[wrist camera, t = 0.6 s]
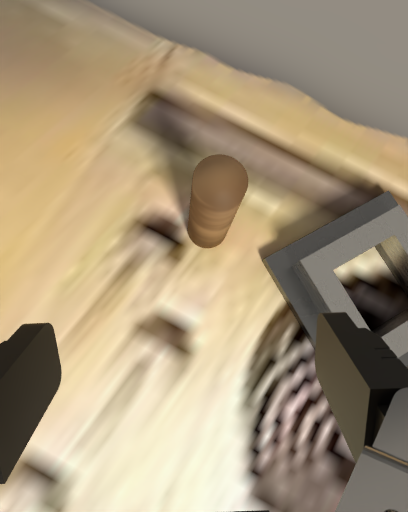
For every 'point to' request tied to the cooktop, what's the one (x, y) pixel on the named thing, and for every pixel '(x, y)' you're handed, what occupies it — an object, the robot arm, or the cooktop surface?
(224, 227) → the dowel pin
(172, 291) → the cooktop surface
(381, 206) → the plate
